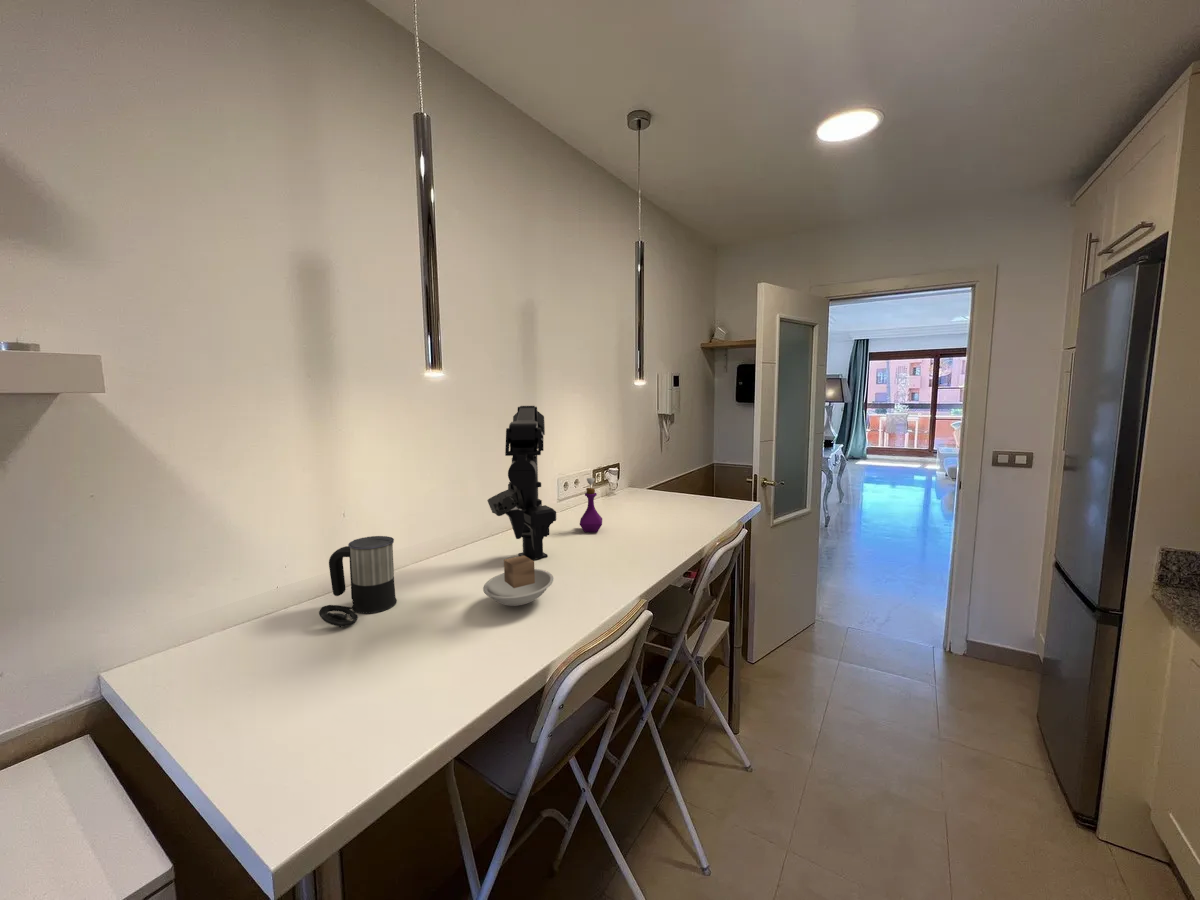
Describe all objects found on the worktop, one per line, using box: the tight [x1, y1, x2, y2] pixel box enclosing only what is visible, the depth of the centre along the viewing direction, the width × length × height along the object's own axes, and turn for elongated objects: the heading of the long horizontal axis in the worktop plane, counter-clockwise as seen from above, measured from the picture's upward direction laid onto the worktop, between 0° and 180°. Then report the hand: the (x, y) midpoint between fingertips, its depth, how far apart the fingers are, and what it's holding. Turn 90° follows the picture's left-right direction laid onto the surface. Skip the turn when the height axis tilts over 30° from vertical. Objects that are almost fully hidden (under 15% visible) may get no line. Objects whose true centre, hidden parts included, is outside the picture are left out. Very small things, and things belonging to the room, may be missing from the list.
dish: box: [482, 568, 554, 607], centre depth 113 cm, size 18×14×5 cm
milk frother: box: [318, 535, 398, 628], centre depth 108 cm, size 14×16×15 cm
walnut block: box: [503, 555, 535, 588], centre depth 112 cm, size 5×5×5 cm
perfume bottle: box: [579, 477, 603, 533], centre depth 169 cm, size 8×8×18 cm
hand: (526, 544), depth 117 cm, fingers open, 9 cm apart
